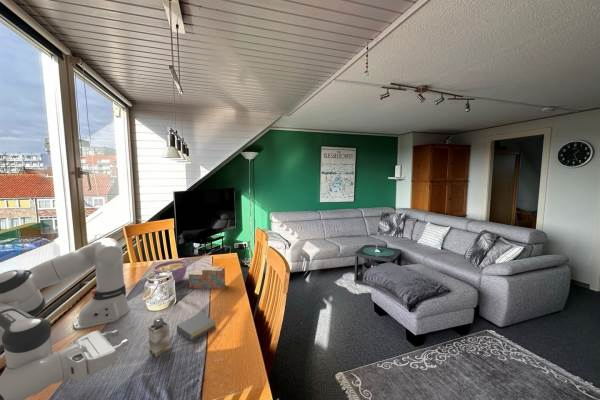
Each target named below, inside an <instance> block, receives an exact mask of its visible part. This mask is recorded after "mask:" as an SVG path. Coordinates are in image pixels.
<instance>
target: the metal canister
mask: <svg viewBox="0 0 600 400" xmlns="http://www.w3.org/2000/svg"><path fill="white" fill-rule="evenodd" d="M163 320H164V318H163V317H158V318H156V319H154V320H153V324H154V330H157V329H159V328H161V327H164V324H163Z"/></svg>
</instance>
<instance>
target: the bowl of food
mask: <svg viewBox="0 0 600 400" xmlns="http://www.w3.org/2000/svg"><path fill="white" fill-rule="evenodd" d="M187 268H188V262H187V261H185V260H171V261H166V262H162V263H159V264H157V265H155V266H154V267H153V271H154V275H155V276H156V274H159V273H162V272H167V271H170V272H172V274H173V277H174V280H175V283H176V284H178V283H179V282H180V281H182V280H183V279H184V277H185V276H186V272H187Z"/></svg>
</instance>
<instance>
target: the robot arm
mask: <svg viewBox="0 0 600 400" xmlns="http://www.w3.org/2000/svg"><path fill="white" fill-rule="evenodd" d="M93 267H94V268H95V278H96V288H94V289H91V292H90V293H91V294H92V299H90V300H89V301H88V302H87V303H86V304H84V305H83V306H82V307H81V308H80V311H79V314H78V316H77V317H75V319H74V320H73V323H72V324H73V329H75V330H83V329H87V328H92V327H95V326H99V325H100V326H101V325H103V324H104V325H105V324H109V323H113V322H116V321H118V320H119V319H120V318H122V317H123V316H125V315H126V314H128V313H129V312H130V310H131V307H130V305H129V303H128V299H127V286H126V284H125V278H124V250H123V248H122V245H121V244H120V243H119V242H118V240H117V239H114V238H112V237H105V238H104V237H103V238H101V239H98V240H95V241H94V242H92V243H89V244H87V245H85V246H82V247H80V248H78V249H76V250H74V251H71V252H68V253H66V254H63V255H60V256H58V257H55V258H52V259H49V260H46V261H44V262H41V263H40V264H37V265H35V266H33V267H31V268H29V269H28V270H27V269H25V270H24V269H11V270H8V271H5V272H2V273H0V346H2V347H3V350H4V356H5V363H6V366H5V368H4V370H3V372H2V374H1V375H0V400H27V399H29V398H31V397H32V396H34V395H37V394H39V393H40V392H42V391H44V390H46V389H48V387H50V386H52V385H54V384H56V383H60V382H62V381H65V380H66V379H69V380H74V381H76V382H82V381H85V380H87V379H88V378H89V377H88V375H89V376H90V375H94V374H96V373H99V372H101V371H103V370H104V369H105V370H106V369H107V368H108V367H110V366H111V365H114V364H115V363H116V362H117V361H118V354H119V353H120V352H121V351H122V350H123V349H124V348H126V347H127V346H130V341H129V339H128V338H126V339H123V340H122V341H120V343H119V344H118V345H117V344H115V345H114V346H113V345H112V344H111V342H109V340H108V339H110V338H115V337H118V336H119V335H120V331H119V330H118V329H115V330H112V331H105V332H103V333H102V332H101V331H100V330H97V329H96V330H93V331H91V332H89V333H86V334H85V335H82V336H80V337H78V338H77V339H75V340H73V342H72V343H70V344H69V345H68V346H66V347H64V348H62V349H59V350H58V351H55V352H53V344H52V335H51V334H52V323H51V321H50V320H48V319H46V318H42V317H36V316H37V315H39V314H40V313H41V312H42V311H43V310H44V309H45V307H46V304H47V303H46V299H45V297H44V296H43V295H42V293H41V291H40V289H43V288H46V287H50V286H53V285H57V284H58V283H61V282H64V281H66V280H68V279H71V278H73V277H76V276H79V275H81V274H83V273H85V272H86V271H88V270H89V269H91V268H93Z"/></svg>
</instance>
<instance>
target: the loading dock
mask: <svg viewBox="0 0 600 400" xmlns="http://www.w3.org/2000/svg"><path fill="white" fill-rule="evenodd" d="M216 326H217V324H216V321H215V320H214V319H212V318H210V317H208V316H206V315H205V314H203V313H202V312H200V313H197V314H196V315H193V316H192V317H189V318H188V319H186V320H184V321H182V322H179V323H178V324H176V332H177V333H179V334H181V336H183V337H185V338H186V339H188V340H189V342H193V341H195V340H196V339H197V338H199V337H201V336H203V335H205V334H206V333H208V332H210V331H211V330H213V329H214V328H216Z"/></svg>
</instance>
